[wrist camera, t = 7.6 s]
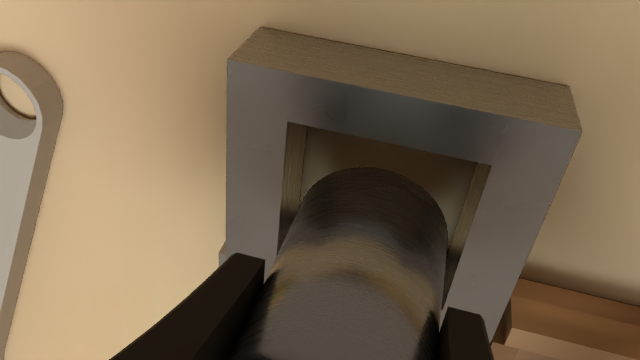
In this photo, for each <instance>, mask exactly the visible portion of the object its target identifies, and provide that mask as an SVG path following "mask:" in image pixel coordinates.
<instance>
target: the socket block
mask: <svg viewBox="0 0 640 360" xmlns="http://www.w3.org/2000/svg"><path fill="white" fill-rule="evenodd" d="M307 126H311V127H316V128H320V129H325V130H330V131H334V132H339V133H344V134H348V135H353V136H357V137H362V138H367V139H371V140H376V141H381V142H385V143H390V144H395V145H399V146H404V147H409V148H413V149H418V150H422V151H427V152H432V153H436V154H441V155H446V156H450V157H455V158H460V159H464V160H469V161H473V162H477V165H476V168H475V171H474V174H473V177H472V181H471V184H470V187H469V190H468V193H467V196H466V199H465V202H464V205H463V209H462V212H461V215H460V218H459V221H458V224H457V227H456V230H455V234H454V237H453V240H452V243H451V246H450V249H449V252H448V255H446V263H445V274H444V285H443V296H442V307H441V318H440V328H441V325H442V322H443V320H444V317H445V314H446V311H447V308H448V307H452V308H456V309H460V310H464V311H468V312H472V313H476V314H480V315H481V316H482V318H483V319H484V321H485V326H486V330H487V335H488V339H489V343H491V341H492V338H493V336H494V334H495V331H496V329H497V327H498V324H499V322H500V320H501V318H502V315H503V313H504V311H505V308H506V306H507V304H508V301H509V299H510V297H511V295H512V292H513V290H514V288H515V285H516V283H517V281H518V278H519V276H520V274H521V271H522V269H523V267H524V265H525V262H526V260H527V258H528V255H529V253H530V251H531V248H532V246H533V244H534V242H535V239H536V237H537V235H538V232H539V230H540V228H541V225H542V223H543V221H544V219H545V216H546V214H547V212H548V209H549V207H550V205H551V202H552V200H553V198H554V196H555V193H556V191H557V189H558V186H559V184H560V182H561V179H562V177H563V175H564V173H565V170H566V168H567V166H568V163H569V161H570V159H571V156H572V154H573V152H574V149H575V147H576V145H577V143H578V140H579V138H580V136H581V133H582V129H581V125H580V122H579V119H578V115H577V112H576V108H575V105H574V102H573V98H572V95H571V91H570V88H569V86H564V85H559V84H554V83H549V82H543V81H538V80H533V79H528V78H523V77H517V76H512V75H507V74H502V73H497V72H491V71H486V70H481V69H476V68H471V67H465V66H460V65H455V64H450V63H445V62H439V61H434V60H429V59H424V58H419V57H413V56H408V55H403V54H398V53H393V52H388V51H382V50H377V49H372V48H367V47H362V46H356V45H351V44H346V43H341V42H336V41H330V40H325V39H320V38H315V37H310V36H304V35H299V34H294V33H289V32H284V31H278V30H273V29H268V28H263V27H260V28H259V29H258V30H257V31H256V32H255V33H254V34H253V35H251V36H250V37H249V38H248V39H247V40H246V41H245V42H244V43H243V44H242V45H241V46H240V47H239V48H238V49H237V50H236V51H235V52H234V53H233V54H232V55H231V56H230V57H229V58H228V59H227V152H226V241H225V243H224V245H223V246H222V248H221V250H220V251H219V267H220V266H221V265H222V264H223V263H224V262H225V261H226V260H227V259H228V258H229V257H230V256H231V255H233V254H234V253H236V252H238V253H241V254H245V255H249V256H253V257H257V258H261V259H265V273H264V283H265V281H266V278H267V276H268V274H269V272H270V270H271V268H272V266H273V263H274V261H275V259H276V257H277V255H278V253H279V251H280V248H281V246H282V244H283V242H284V240H285V238H286V236H287V233H288V231H289V229H290V227H291V225H292V223H293V220H294V218H295V216H296V214H297V212H298V209H299V200H300V190H301V180H302V171H303V161H304V151H305V142H306V132H307ZM439 331H440V329H439Z"/></svg>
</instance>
